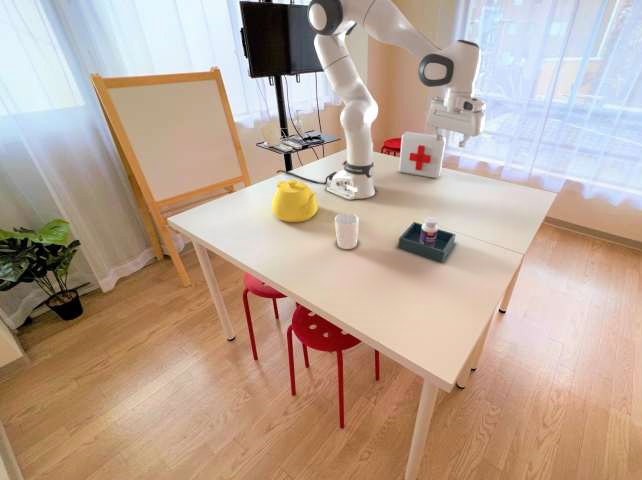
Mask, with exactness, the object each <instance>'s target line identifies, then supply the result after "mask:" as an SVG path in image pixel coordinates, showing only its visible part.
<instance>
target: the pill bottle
mask: <svg viewBox="0 0 642 480" xmlns="http://www.w3.org/2000/svg"><path fill="white" fill-rule="evenodd" d="M422 224H423V225H422V228H421V234H420V240H419V243H421V244H424V245H427V246H430V247H434V246H435V241H436V236H437V231H438V229H439V227H438V225H437V224H438V220H437V218H435V217H432V216H431V217H430V216H427V217H426V218H425V219H424V223H422Z"/></svg>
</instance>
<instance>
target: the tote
mask: <svg viewBox="0 0 642 480" xmlns="http://www.w3.org/2000/svg"><path fill="white" fill-rule="evenodd" d="M423 224H424V223H419V222H416V221H413V222H412V223H411V224H410V226H409V227H408V228H406V230H405V231H404V232H403V233H402V234H401V235H400V236H399V237H398V247H397V248H398V249H399V250H400V249H401V250H403V251H406V252H409V253H412V254H415V255H417V256H421V257H424V258H426V259H430V260H433V261H435V262H436V261H437V262H438V263H443V262H444V261H445V259H446V257H447V256H448V254H449V252H450V251H451V250H452V247H453V246H454V244H455V239H456V236H457V234H456V233H453V232H450V231H446V230H443V229H439V228H438V231H437V236H436V241H435V246H434V247H430V246H427V245H424V244H421V243H419V240H420V234H421V228H422V225H423Z"/></svg>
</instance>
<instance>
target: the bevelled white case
mask: <svg viewBox="0 0 642 480" xmlns="http://www.w3.org/2000/svg"><path fill="white" fill-rule="evenodd" d="M436 137H437V135H436V134H428V133H423V132H422V133H421V132H415V131H405V132H404V133H403V134H401V139H400V153H399V164H398V171H399V173H401V174H406V175H412V176H419V177H424V178H429V179H436V180H437V179H438V178H439V177H440V175H441V172H442V166H443V160H444V154H445V150H446V149H445V148H446V142H447V138H446V137H445V136H444V135H443V138H442V141H437V140H436Z"/></svg>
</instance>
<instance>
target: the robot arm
mask: <svg viewBox="0 0 642 480" xmlns="http://www.w3.org/2000/svg"><path fill="white" fill-rule="evenodd" d="M307 21H308V23H309V25H310V27H311V29H312V30H313V32H314V33H316V35H315V37H314V40H313V44H314V48H315V52H316V54H317V58H318V60H319V63H320V66H321V68H322V70H323V72H324V74H325V76H326V78H327V80H328V83H329V84H330V86H331V88H332V90H333V92H334V93H335V94H336V95H337V96H338V97H339V98H340V100H341V101H342V102H343V104H344V105H345V106H343V109H342V111H341V113H340V115H339V116H340V117H339V120H340V124H341V127H342V128H343V131H344V137H345V141H346V160H344V161H343V162H342V163H341V166H342V167H343V168H341V169H340V170H338V172H337V171H333V172H332V173H330V174H329V175H327V176H326V178H325V182H319V181H317V180H314V179H309V178H305V177H303V176H300V175H297V174H295V173H293V172H290V171H286V170H283V169H279V170H276V174H278V173H280V172H281V173H284V174H288V175H291V176H294V177H296V178H299V179H301V180H304V181H308V182H312V183H314V184H319V185H320V184H321V185H326V184H327V183H328V180H329V181H331V183H329V184H328V185H327V186H326V191H328V192H330V193H332V194H335V195H336V196H339V197H341V198H344V199H345V200H349V201H350V200H351V201H352V200H357V199H358V200H359V199H360V200H361V199H367V198H368V199H369V198H371V197H373V196H374V195H375V194H376V190H375V186H374V185H375V184H374V177H373V175H374V159H373V158H374V142H373V140H372V139H373V138H372V131H371V127H372V124H373V123H374V122H375V120H376V119H377V116H378V113H379V106H378V103H377V101H376V100H375V98H373V97H372V95H371V93H370V91H369V90H368V88H367V87H366V85H365V84H364V82H363V81H362V79H361V77H360V74H359V72H358V70H357V68H356V66H355V63H354V61H353V58H352V57H351V54H350V52H349V51H348V47H347V45H346V41H345V36H349V35H350V34H351V33H352V32H353V30H354V28H355V27H357V25H358V26H359V27H360V28H361V29H362V30H363V31H364V32H365V33H366V34H367V35H369V36H370V37H371V38H373V39H374V40H376V41H378V42H379V43H382V44H386V45H392V46H396V47H399V48H401V49H404V50H405V51H407V52H408V53H409V54H410V55H412V56H413V57H414V58H415V59H416V60H417V61H419V64H418V70H417V74H418V78H419V80H420V82H421V83H422V85H424V86H425V87H428V88H437V87H441V86H444V87H445V92H444V97H439V96H435V97H433V98H432V99H431V101H430V104H429V105H430V107H429V110H428V113H427V119H426V123H427V125H428V126H431V127H434V132H435V135H437V137H436V140H437V141H442V138H443V136H444V135H443V134H442V132H441V130H446V131H451V132H454V133H458V134H461V135H463V136H462V138H463V140H461V141H459V142H458V147H459V148H462V149H463V148H465V147H466V143H467V142H468V140H469V139H470V138H471V137H474V138H475V137H478V136H480V135H482V133H483V132H484V131H483V130H484V126H485V119H486V115H485V112H484V110H486V107H487V103H486V102H485V101H484V100H482V99H480V98H479V97H477V96H476V95H475V82H476V80H477V78H478V75H479V70H480V63H481V56H482V54H481V53H482V51H481V48H480V45H478V43H476V42H473V41H470V40H465V39H457V40H456V41H454V42H453V43H452V44H450V45H448V46H447V47H444V48H439V47H437V46H436V45H435V44H434V43H432V41H430V40H429V39H428V38H427V37H426V36H424V35H423V34H422V33H421V32H420V31H419V30H418V29H416V28H415V26H413V24H412V23H411V22H410V21H409V19H407V18H406V17H405V15H404V14H403V13H402V12H401V11H400V9H399V8H398V6H397V5H396V4H395V3H394V2H393V1H392V0H311V1H309V3H308V6H307Z"/></svg>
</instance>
